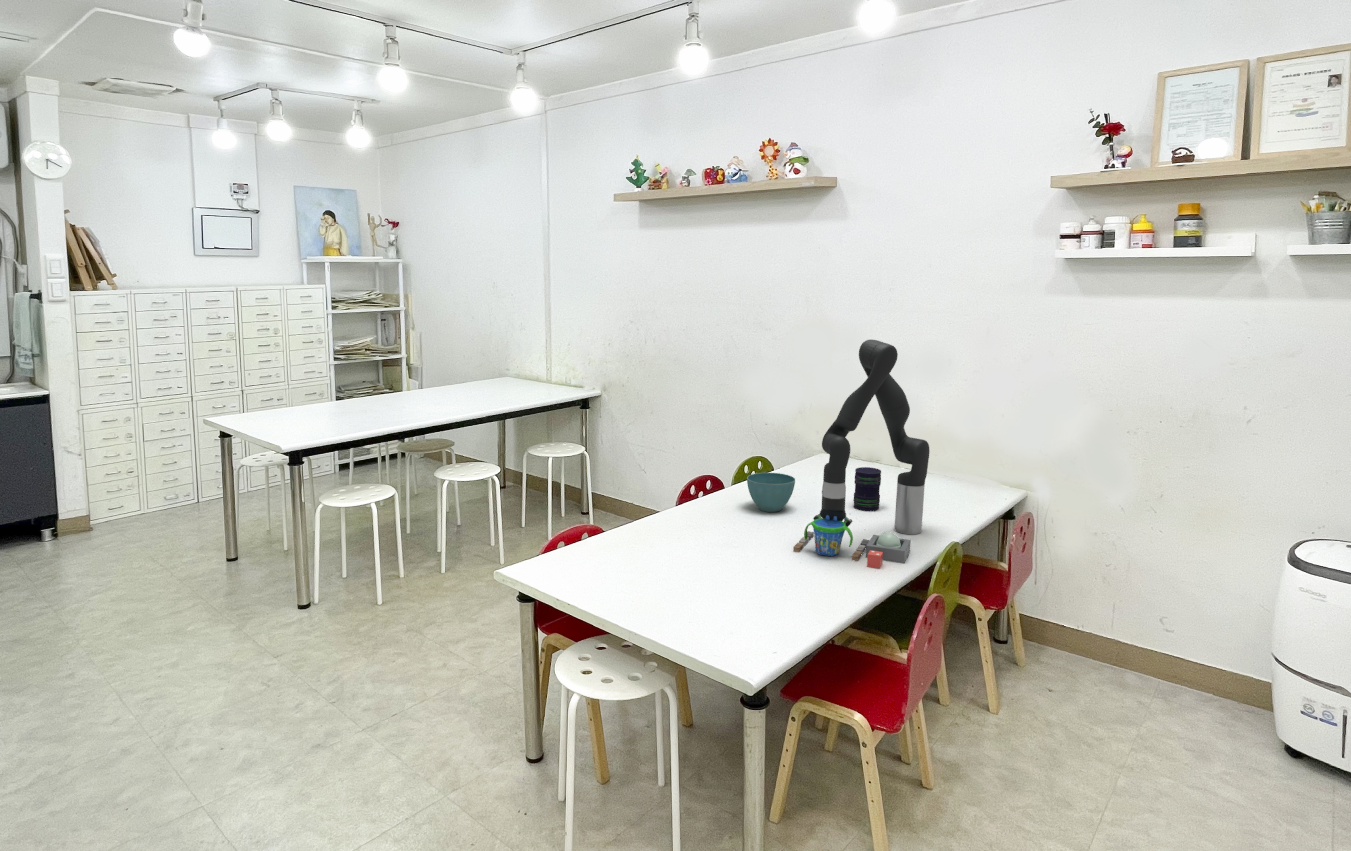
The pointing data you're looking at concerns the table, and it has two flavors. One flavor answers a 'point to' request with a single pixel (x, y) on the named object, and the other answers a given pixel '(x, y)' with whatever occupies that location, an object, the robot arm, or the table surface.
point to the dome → (889, 540)
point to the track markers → (803, 542)
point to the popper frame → (890, 550)
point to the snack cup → (828, 536)
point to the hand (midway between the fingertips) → (831, 545)
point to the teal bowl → (770, 490)
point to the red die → (874, 559)
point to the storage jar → (867, 489)
